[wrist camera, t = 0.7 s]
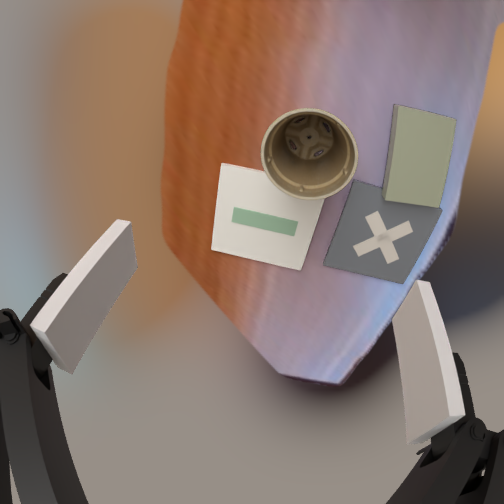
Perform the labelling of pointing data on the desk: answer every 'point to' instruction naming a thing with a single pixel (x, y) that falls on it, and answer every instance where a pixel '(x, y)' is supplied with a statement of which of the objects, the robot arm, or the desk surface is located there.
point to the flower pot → (309, 154)
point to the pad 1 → (262, 219)
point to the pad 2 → (380, 234)
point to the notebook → (418, 156)
